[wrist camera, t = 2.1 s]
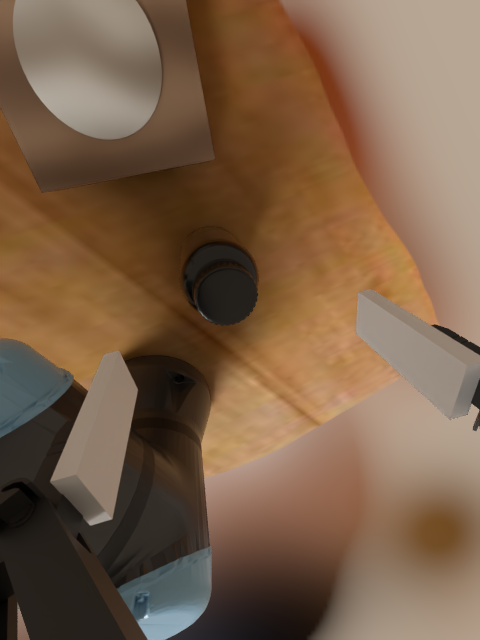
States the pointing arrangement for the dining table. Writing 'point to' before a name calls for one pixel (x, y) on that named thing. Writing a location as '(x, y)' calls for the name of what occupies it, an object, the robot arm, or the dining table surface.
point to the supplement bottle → (218, 276)
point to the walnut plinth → (101, 88)
